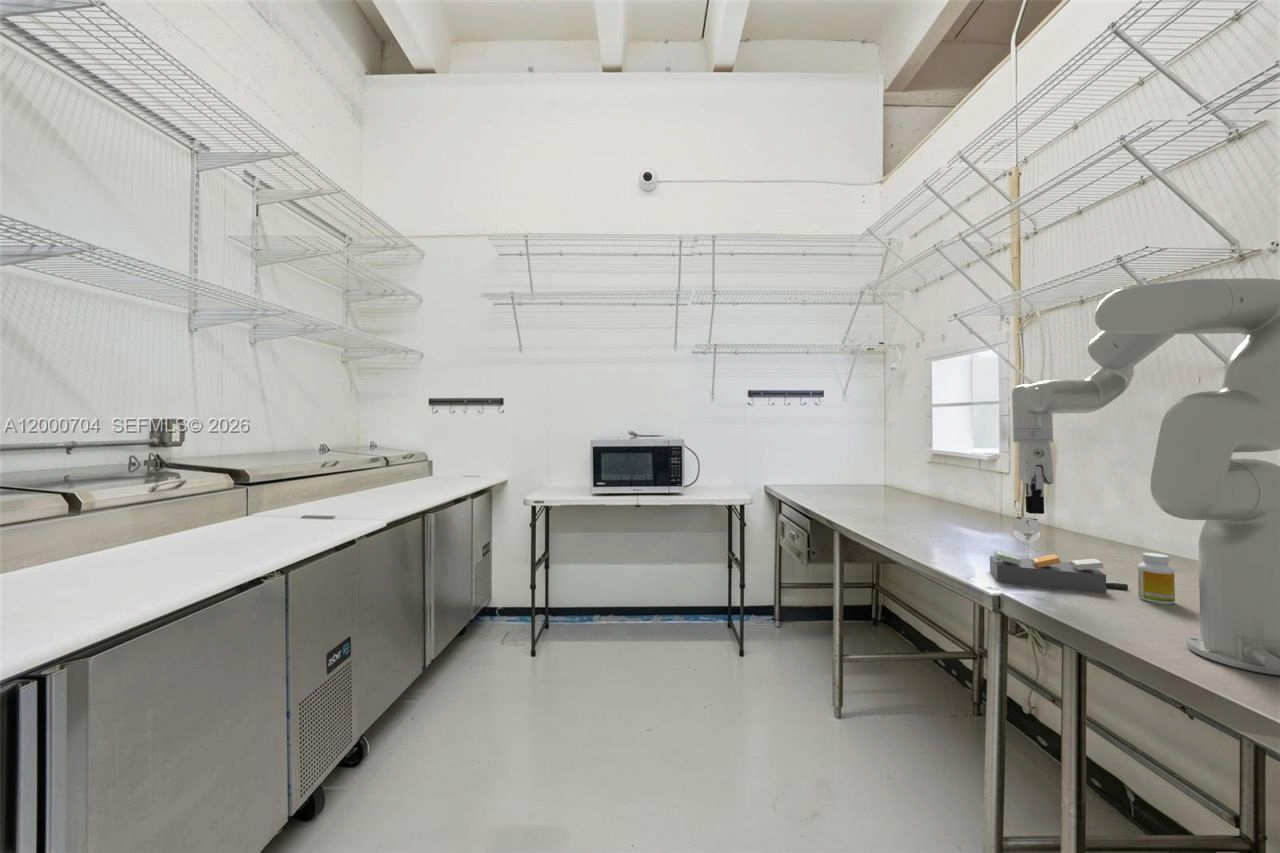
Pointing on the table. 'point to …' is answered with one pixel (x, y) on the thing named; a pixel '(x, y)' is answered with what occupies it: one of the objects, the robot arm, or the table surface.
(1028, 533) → the wineglass
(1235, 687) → the table surface
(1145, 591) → the supplement bottle
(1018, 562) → the green rocker
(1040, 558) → the orange white-striped slab
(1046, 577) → the power strip
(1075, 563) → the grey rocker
